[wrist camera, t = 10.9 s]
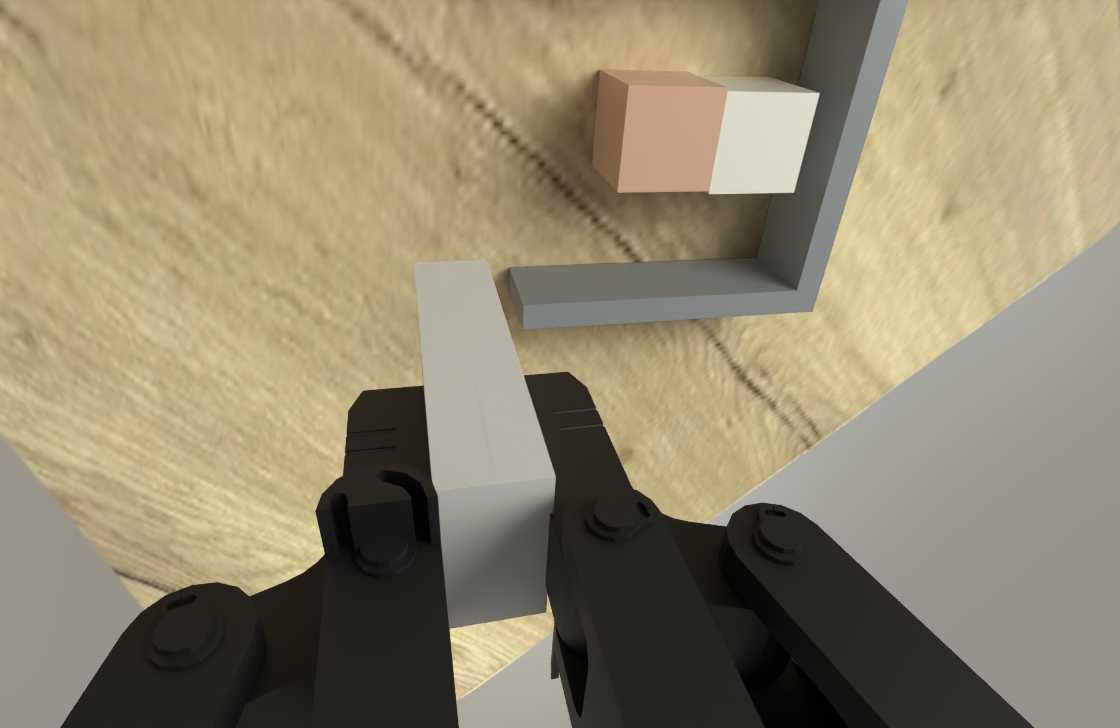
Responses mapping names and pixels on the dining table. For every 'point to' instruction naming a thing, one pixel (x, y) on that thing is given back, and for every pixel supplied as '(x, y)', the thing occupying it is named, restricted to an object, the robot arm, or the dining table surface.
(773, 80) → the tile
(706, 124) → the tile
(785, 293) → the box
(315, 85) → the dining table surface
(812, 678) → the robot arm
